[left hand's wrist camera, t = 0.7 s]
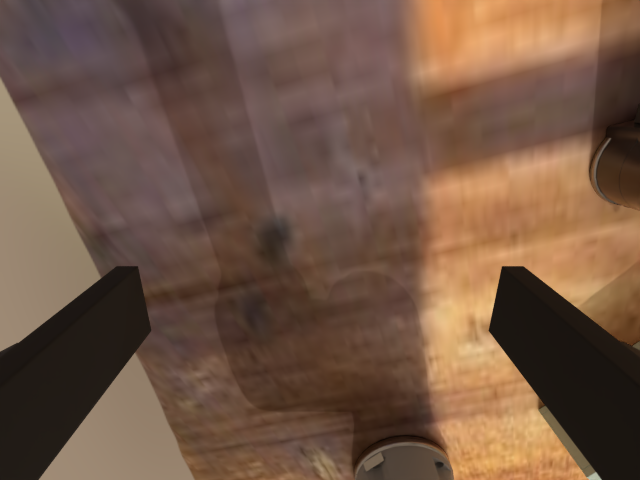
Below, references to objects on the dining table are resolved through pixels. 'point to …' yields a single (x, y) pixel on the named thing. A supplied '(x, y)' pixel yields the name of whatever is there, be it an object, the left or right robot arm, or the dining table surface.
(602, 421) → the left robot arm
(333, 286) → the dining table surface
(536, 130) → the dining table surface
